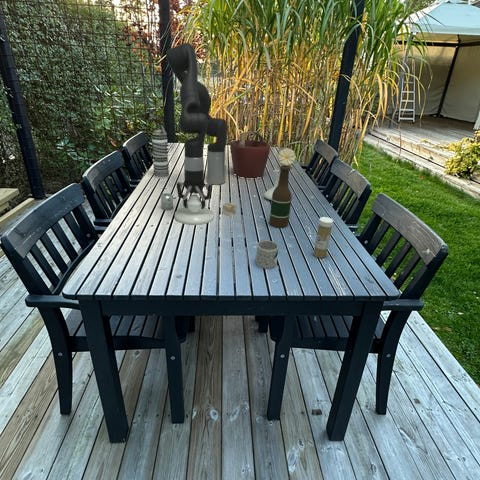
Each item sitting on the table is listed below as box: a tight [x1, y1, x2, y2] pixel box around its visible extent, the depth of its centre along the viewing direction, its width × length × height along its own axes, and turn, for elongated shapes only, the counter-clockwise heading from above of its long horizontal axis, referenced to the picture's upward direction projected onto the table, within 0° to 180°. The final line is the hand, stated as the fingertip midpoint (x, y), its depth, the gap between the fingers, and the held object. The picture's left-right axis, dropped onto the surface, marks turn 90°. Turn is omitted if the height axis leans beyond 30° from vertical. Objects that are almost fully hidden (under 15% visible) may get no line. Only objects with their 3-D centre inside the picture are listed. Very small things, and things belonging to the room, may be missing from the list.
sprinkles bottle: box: [312, 216, 334, 259], centre depth 112 cm, size 5×5×14 cm
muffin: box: [187, 194, 202, 212], centre depth 137 cm, size 6×6×7 cm
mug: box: [255, 239, 280, 270], centre depth 108 cm, size 10×7×7 cm
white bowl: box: [174, 206, 215, 226], centre depth 139 cm, size 16×16×2 cm
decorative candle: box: [150, 129, 170, 180], centre depth 183 cm, size 9×9×25 cm
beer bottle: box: [269, 164, 292, 229], centre depth 132 cm, size 8×8×24 cm
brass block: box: [221, 202, 237, 217], centre depth 144 cm, size 4×4×4 cm
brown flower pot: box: [229, 130, 271, 178], centre depth 195 cm, size 24×22×25 cm
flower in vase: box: [263, 147, 297, 201], centre depth 159 cm, size 13×11×25 cm
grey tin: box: [160, 192, 174, 211], centre depth 145 cm, size 5×5×6 cm
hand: (194, 208), depth 138 cm, fingers closed on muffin, 6 cm apart
